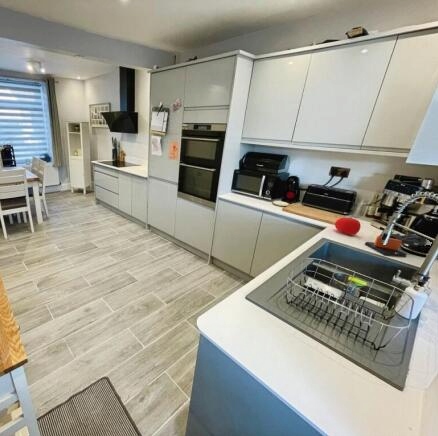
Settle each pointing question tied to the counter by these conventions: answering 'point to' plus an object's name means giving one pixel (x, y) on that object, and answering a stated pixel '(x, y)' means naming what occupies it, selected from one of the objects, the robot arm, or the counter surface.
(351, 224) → the tomato
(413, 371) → the counter surface
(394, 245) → the orange rectangular block
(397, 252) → the dark grey square plate
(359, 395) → the counter surface
